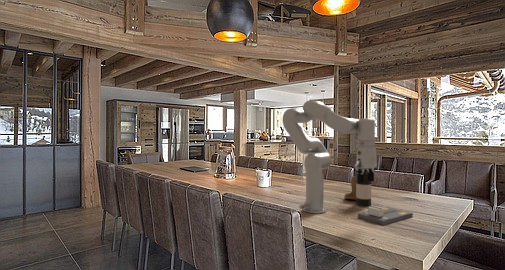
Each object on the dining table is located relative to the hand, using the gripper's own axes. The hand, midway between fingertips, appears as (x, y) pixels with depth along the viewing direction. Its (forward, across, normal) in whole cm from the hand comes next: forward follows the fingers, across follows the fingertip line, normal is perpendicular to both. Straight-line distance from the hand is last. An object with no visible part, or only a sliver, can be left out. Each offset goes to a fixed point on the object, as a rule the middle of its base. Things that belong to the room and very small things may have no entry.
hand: (365, 181), depth 142 cm
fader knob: (+17, +8, 0) cm, 19 cm away
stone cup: (+20, +36, +33) cm, 53 cm away
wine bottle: (+20, +28, +22) cm, 41 cm away
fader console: (+20, +16, 0) cm, 25 cm away
